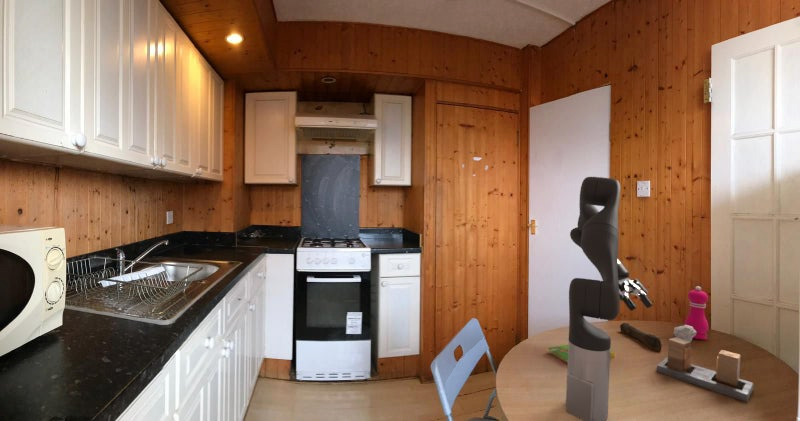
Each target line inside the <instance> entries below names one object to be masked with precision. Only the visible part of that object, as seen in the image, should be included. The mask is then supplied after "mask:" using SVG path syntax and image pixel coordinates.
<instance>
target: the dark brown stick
mask: <svg viewBox="0 0 800 421" xmlns="http://www.w3.org/2000/svg"><path fill="white" fill-rule="evenodd" d="M619 328H620V331H621V333H623V334H628V335H629V336H631V337H633V338H634V339H636V340H639V341H641V342H642V343H644V345H645V346H646V347H648V348H649V349H651V350H653V351H654V350H655V351H658V352H661V351H662V347H663V345H662V341H661V339H660V338H659V337H658V336H656V335H655V334H651V333H645V332H643V331H641V330H640V329H637V328H636V327H634V326H632V325H630V323H627V322H623V323H621V324H620V325H619Z"/></svg>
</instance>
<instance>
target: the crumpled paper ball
mask: <svg viewBox="0 0 800 421" xmlns="http://www.w3.org/2000/svg"><path fill="white" fill-rule="evenodd" d="M696 333H697V332H696V331H695V330H694V328H693V327H692V326H689V325H685V324H684V325H680V326H675V327H674V328H673V334H674V336H675V338H676V337H677V338H680V339H683V340H686V341H689V342H691V343H692V340H693V339H694V338H693V337H694V336H695V335H696Z"/></svg>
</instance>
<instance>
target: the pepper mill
mask: <svg viewBox="0 0 800 421" xmlns="http://www.w3.org/2000/svg"><path fill="white" fill-rule="evenodd" d="M687 298H688V300H689V303H688V304H689V306H690V311H689V312H688V313H689V314H688V316H687V317H686V318H685V320H684V325H689V326H692V327H693V328H694V330H695V331H696V332H697V333H696V335H695V336H694V337H693V338H692V339H696V340H707V338H708V337H707V333H706V332H708V331H709V327H710V326H709V322H708V320H707V317H706V315H705V308H706V307H707V304H706V302H708V301H709V296H708V294H707V293H706V292H705V291H702V287H701V286H698V285H697V286H695V289H692V290H690V291H689V292H688V294H687Z"/></svg>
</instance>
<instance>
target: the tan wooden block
mask: <svg viewBox="0 0 800 421" xmlns="http://www.w3.org/2000/svg"><path fill="white" fill-rule="evenodd" d="M667 357H668V365H667V366H668V367H671V368H674V369H677V370H680V371H683V372H686V373H689V374H691V372H690V366H691V364H692V363H691V361H692V341H691V342H689V341H686V340H683V339H680V338H677V337H676V336H675V337H672V338H669V339H668V347H667Z"/></svg>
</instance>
